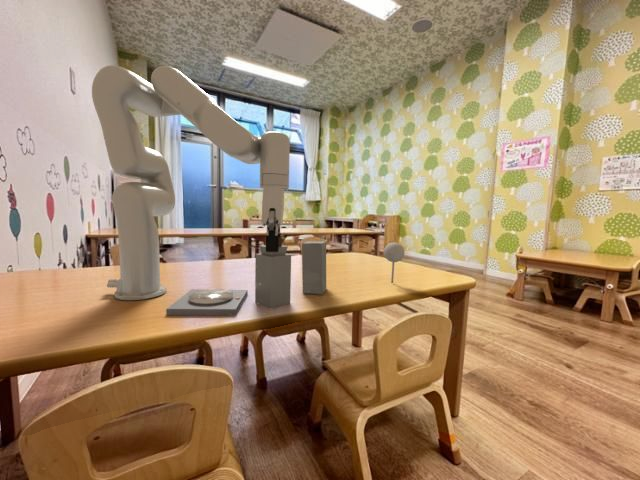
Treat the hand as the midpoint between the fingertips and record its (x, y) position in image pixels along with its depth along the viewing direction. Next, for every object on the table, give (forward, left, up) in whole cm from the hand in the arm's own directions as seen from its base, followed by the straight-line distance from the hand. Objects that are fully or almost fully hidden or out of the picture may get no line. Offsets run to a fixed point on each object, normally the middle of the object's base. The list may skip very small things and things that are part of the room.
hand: (273, 248), depth 76 cm
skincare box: (+12, +12, -15) cm, 23 cm away
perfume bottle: (0, 0, -15) cm, 15 cm away
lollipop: (+41, +22, -15) cm, 49 cm away
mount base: (-16, -1, -15) cm, 22 cm away
